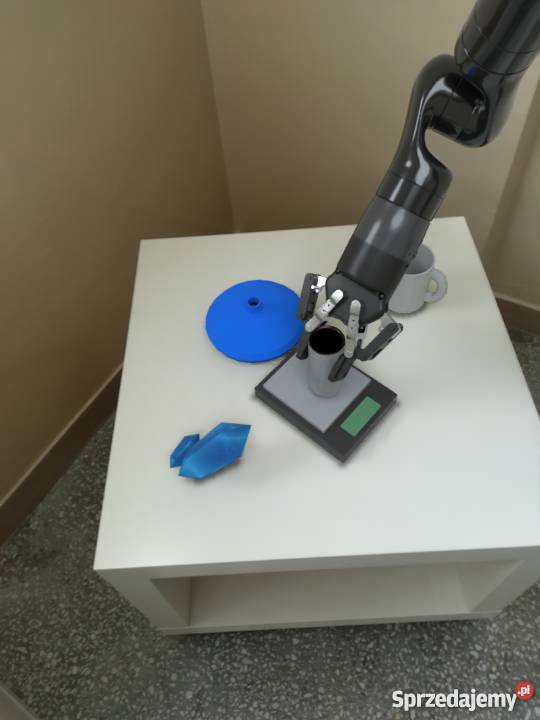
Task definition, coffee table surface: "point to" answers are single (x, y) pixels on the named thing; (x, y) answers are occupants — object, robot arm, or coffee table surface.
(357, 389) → the scale
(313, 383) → the grey cylindrical tube
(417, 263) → the cup
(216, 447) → the crystal
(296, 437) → the coffee table surface
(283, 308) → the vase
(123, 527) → the coffee table surface
